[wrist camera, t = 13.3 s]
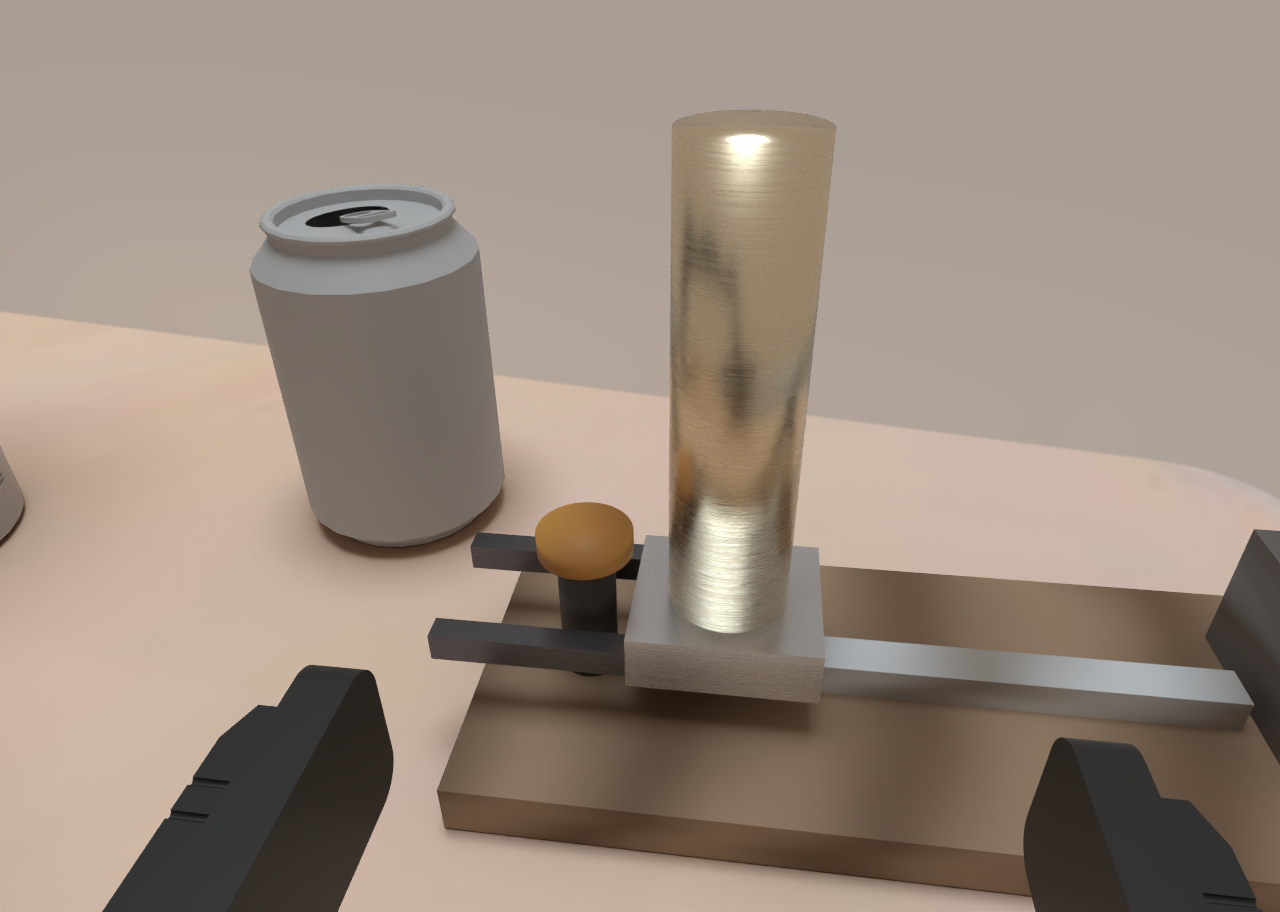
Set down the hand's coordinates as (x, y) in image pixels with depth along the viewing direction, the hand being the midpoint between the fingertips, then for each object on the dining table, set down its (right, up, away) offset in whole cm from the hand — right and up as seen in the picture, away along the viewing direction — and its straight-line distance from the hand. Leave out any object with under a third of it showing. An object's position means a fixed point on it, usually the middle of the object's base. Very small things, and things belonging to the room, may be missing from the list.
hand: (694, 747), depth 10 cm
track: (+6, -4, +15) cm, 17 cm away
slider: (-1, -1, +14) cm, 14 cm away
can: (-10, +1, +25) cm, 26 cm away
